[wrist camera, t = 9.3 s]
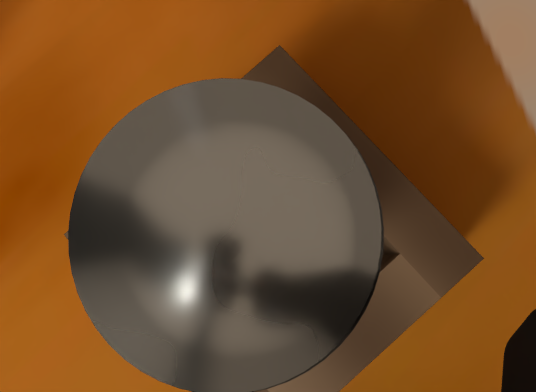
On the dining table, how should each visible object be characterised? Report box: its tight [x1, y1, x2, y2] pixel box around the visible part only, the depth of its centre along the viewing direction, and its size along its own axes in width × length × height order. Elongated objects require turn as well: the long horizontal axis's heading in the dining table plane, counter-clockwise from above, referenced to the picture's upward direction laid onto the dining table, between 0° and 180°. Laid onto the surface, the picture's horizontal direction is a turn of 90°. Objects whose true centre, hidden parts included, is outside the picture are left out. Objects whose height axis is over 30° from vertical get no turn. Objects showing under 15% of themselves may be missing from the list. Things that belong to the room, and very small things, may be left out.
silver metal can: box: [68, 78, 384, 392], centre depth 13 cm, size 5×5×13 cm
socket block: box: [64, 45, 484, 392], centre depth 19 cm, size 10×10×4 cm
